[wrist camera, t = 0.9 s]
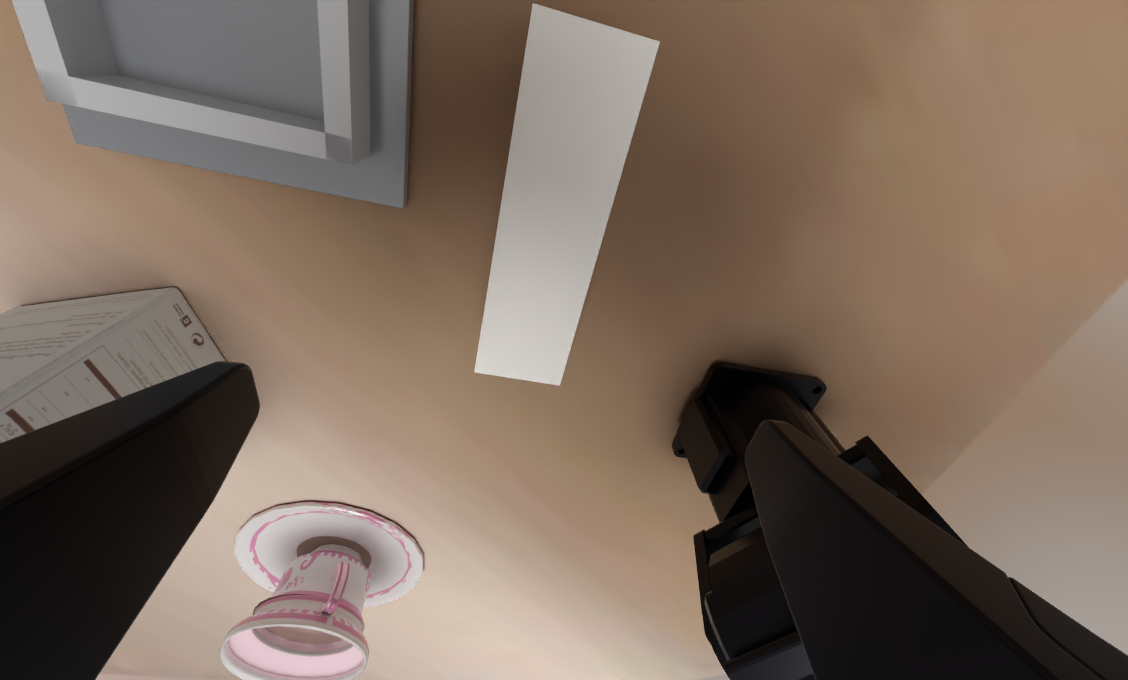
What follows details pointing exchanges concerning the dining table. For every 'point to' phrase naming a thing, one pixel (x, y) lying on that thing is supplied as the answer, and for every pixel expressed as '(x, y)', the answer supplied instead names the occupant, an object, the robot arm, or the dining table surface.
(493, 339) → the slat
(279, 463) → the dining table surface
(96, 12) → the grey bracket base
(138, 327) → the supplement box
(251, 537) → the teacup
